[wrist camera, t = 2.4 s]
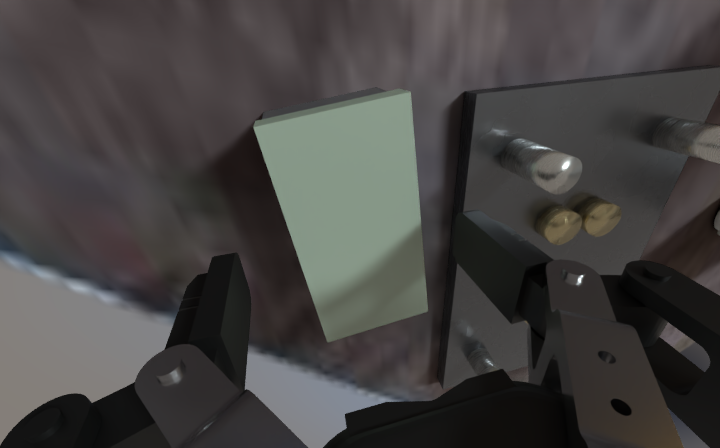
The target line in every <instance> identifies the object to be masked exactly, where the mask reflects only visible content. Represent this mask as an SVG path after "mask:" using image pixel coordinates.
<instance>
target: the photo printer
mask: <svg viewBox="0 0 720 448" xmlns="http://www.w3.org/2000/svg"><path fill="white" fill-rule="evenodd" d="M714 227H715V229H717V230H718V232H717V234H718V235H719V236H720V210H719V211H718V213H717V215H716V218H715V221H714Z"/></svg>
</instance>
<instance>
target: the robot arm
mask: <svg viewBox="0 0 720 448" xmlns="http://www.w3.org/2000/svg"><path fill="white" fill-rule="evenodd" d="M452 250H453V255H454V258H455V260H456V262H457V263H458V264H459V266H460V267H461V268H462V269H463V270H464V271H465V272H466V274H467V275H468V276H469V277H470V278H471V279H472V280H473V281H474V283H475V284H476V285H477V286H478V287H479V288H480V289H481V291H482V292H483V293H484V294H485V295H486V296H487V297H488V298H489V300H490V301H491V302H492V303H493V304H494V305H495V306H496V308H497V309H498V310H499V311H500V312H501V313H502V314H503V316H504V317H505V318H506V319H507V320H508V321H509V322H510V323H511V324H514V323H518V322H522V321H527V322H528V324H529V326H528V329H527V347H528V373H529V381H528V383H527V382H519V381H512V380H511V379H510V378H509V376H508V375H507V374H506V372H505V371H504V369H499V370H496V371H492V372H489V373H485V374H482V375H478V376H475V377H471V378H468V379H466V380H464V381H463V382H461V383H460V384H458V385H457V386H455V387H454V388H452V389H451V390H449V391H448V392H446V393H444V394H443V395H441V396H440V397H438V398H437V399H435V400H432V401H415V402H385V403H381V404H378V405H375V406H371V407H368V408H365V409H361V410H357V411H354V412H350V413H347V414H345V419H346V425H347V428H346V429H345V430H343V431H342V432H340V433H339V434H337V435H336V436H335V437H334V438H333V439H331V440H330V441H329V442H328V443H327V444H326V445H325V446H324V447H323V448H684V447H683V444H682V442H681V439H680V437H679V434H678V432H677V430H676V427H675V424H674V422H673V420H672V417H671V415H670V413H669V410H668V408H669V409H670V410H671V411H672V412H673V413H674V414H675V415H676V416H677V417H678V418H679V419H680V420H682V421H683V422H684V423H685V424H686V425H687V426H688V427H689V428H690V429H691V430H692V431H693V432H694V433H695V434H696V435H697V436H698V437H699V438H700V439H701V440H702V441H703V442H705V443H706V444H707V445H708V446H709V447H710V448H720V296H719V295H718V294H716V293H714V292H712V291H711V290H709V289H707V288H705V287H704V286H702V285H700V284H698V283H697V282H695V281H693V280H691V279H690V278H688V277H686V276H685V275H683V274H681V273H679V272H678V271H676V270H674V269H672V268H670V267H667V266H665V265H662V264H659V263H655V262H650V261H642V260H637V261H631V262H629V263H627V264H626V266H625V268H624V270H623V273H622V275H599V274H598V273H597V272H596V271H595V270H593V269H592V268H590V267H589V266H587V265H584V264H582V263H579V262H576V261H571V260H562V259H560V260H553V259H552V258H551V257H549V256H548V255H547V254H545V253H544V252H543V251H541V250H540V249H539V248H537V247H536V246H534V245H533V244H532V243H530V242H529V241H528V240H525V238H524V237H522V236H521V235H519V234H517V232H515V231H514V230H513V229H511V228H510V227H509V226H507V225H505V224H503V223H500V222H498V221H495V220H492V219H491V218H489V217H488V216H487V215H485V214H484V213H483V212H481V211H480V210H472V211H466V212H461V213H458V214H457V216H456V219H455V228H454V237H453V247H452ZM250 314H251V296H250V290H249V287H248V283H247V280H246V277H245V274H244V270H243V267H242V264H241V261H240V258H239V255H238V254H237V253H231V254H225V255H220V256H214V257H212V260H211V263H210V267H209V270H208V273H205V274H200V275H197V276H196V277H195V279H194V280H193V281H192V282H191V283H190V284H189V285H188V286H187V288H186V291H185V294H184V297H183V301H182V302H181V305H180V308H179V312H178V314H177V316H176V319H175V322H174V325H173V328H172V330H171V333H170V336H169V339H168V341H167V344H166V347H165V350H163V351H162V352H160V353H158V354H157V355H155V356H154V357H153V358H151V359H150V360H149V361H148V362H147V363H146V364H145V365H144V366H143V368H142V369H141V370H140V372H139V373H138V375H137V378H136V380H135V382H134V383H133V384H130V385H129V386H127V387H125V388H123V389H121V390H119V391H116V392H114V393H112V394H110V395H108V396H106V397H104V398H102V399H100V400H98V401H96V402H93V403H91V402H90V400H89V399H88V398H87V397H86V396H84V395H82V394H68V395H64V396H60V397H58V398H55V399H53V400H51V401H49V402H47V403H45V404H43V405H41V406H40V407H38V408H37V409H35V410H34V411H32V412H31V413H30V414H28V415H27V416H26V417H24V419H22V420H21V421H20V422H19V423H18V424H17V425H16V426H15V427H14V428H13V429H12V431H10V432H9V433H8V435H7V436H6V438H5V439H4V440H3V442H2V444H1V445H0V448H308V447H307V446H306V445H305V444H304V443H303V442H302V441H301V440H300V439H299V438H298V437H297V436H296V435H295V434H294V433H293V432H292V431H291V430H290V429H288V427H287V426H286V425H285V424H284V423H283V422H282V421H281V420H280V419H279V418H278V417H277V416H276V415H275V414H274V413H273V412H272V411H270V409H268V407H266V406H265V405H264V404H263V403H262V402H261V401H260V400H259V399H258V398H257V397H256V396H255V395H254V394H253V393H252V392H250V391H249V390H245V378H246V377H245V376H246V365H247V352H248V340H249V327H250ZM668 322H669V323H670V324H672V325H673V326H674V327H676V328H677V329H678V330H680V331H681V332H683V333H684V334H685V335H687V336H688V337H689V338H691V339H692V340H694V341H695V342H696V343H698V344H699V345H700V346H702V347H703V348H704V349H705V351H706V352H707V353H708V355H709V358H710V361H711V362H710V366H709V368H708V369H707V370H706V372H703V371H702V370H701V369H699V368H698V367H697V366H696V365H695V364H693V363H692V362H691V361H689V360H688V359H687V358H686V357H684V356H683V355H682V354H681V353H679V352H678V351H677V350H675V349H674V348H673V347H672V346H670V345H669V344H668V343H667V342H665V341H664V340H663V339H661V338H660V337H659V336H660V335H661V333H662V331H663V330H664V328H665V326H666V325H667V323H668ZM244 390H245V391H244Z"/></svg>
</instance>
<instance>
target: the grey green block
mask: <svg viewBox="0 0 720 448" xmlns="http://www.w3.org/2000/svg"><path fill="white" fill-rule="evenodd" d="M253 128H254V131H255V134H256V136H257V139H258V142H259V145H260V148H261V151H262V154H263V157H264V160H265V163H266V166H267V168H268V171H269V174H270V177H271V180H272V183H273V186H274V189H275V192H276V195H277V197H278V200H279V203H280V206H281V209H282V212H283V215H284V218H285V221H286V224H287V227H288V229H289V232H290V235H291V238H292V241H293V244H294V247H295V250H296V253H297V256H298V258H299V261H300V264H301V267H302V270H303V273H304V276H305V279H306V282H307V285H308V288H309V290H310V293H311V296H312V299H313V302H314V305H315V308H316V311H317V314H318V317H319V319H320V322H321V325H322V328H323V331H324V334H325V337H326V340H327V343H328V342H332V341H335V340H338V339H341V338H344V337H348V336H351V335H354V334H357V333H361V332H364V331H367V330H370V329H373V328H377V327H380V326H383V325H386V324H389V323H393V322H396V321H399V320H402V319H405V318H409V317H412V316H415V315H418V314H422V313H425V312H428V303H427V291H426V278H425V266H424V253H423V241H422V228H421V216H420V203H419V191H418V178H417V166H416V153H415V141H414V128H413V116H412V103H411V92H410V91H406V90H403V89H396V90H391V91H385V90H382V89H380V88H377V87H375V88H371V89H366V90H362V91H357V92H353V93H348V94H344V95H339V96H334V97H330V98H325V99H321V100H316V101H312V102H307V103H303V104H298V105H294V106H289V107H285V108H280V109H276V110H271V111H267V112H263V117H262V120H257V121H255V124H254V127H253Z"/></svg>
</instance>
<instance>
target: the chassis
mask: <svg viewBox="0 0 720 448" xmlns="http://www.w3.org/2000/svg"><path fill="white" fill-rule="evenodd" d="M719 91H720V66H713V65H706V66H697V67H688V68H678V69H669V70H660V71H650V72H641V73H632V74H622V75H613V76H603V77H594V78H585V79H575V80H566V81H557V82H547V83H538V84H529V85H519V86H510V87H500V88H491V89H482V90H472V91H465V95H464V105H463V115H462V126H461V136H460V146H459V157H458V167H457V177H456V188H455V198H454V209H453V219H452V229H451V240H450V250H449V260H448V271H447V281H446V291H445V302H444V312H443V323H442V333H441V343H440V354H439V364H438V374H437V378H438V380H439V382H440V384H441V386H442V388H443V389H446V388H450V387H453V386H457V385H458V384H460V383H461V382H463V381H464V380H466V379H468V378H471V377H475V376H478V375H482V374H485V373H489V372H492V371H496V370H499V369H504V371H505V372H507V371H511V370H515V369H518V368H522V367H525V366H528V347H527V329H528V326H529V324H528V322H527V321H522V322H518V323H514V324H511V323H510V322H509V321H508V320H507V319H506V318H505V317H504V316H503V314H502V313H501V312H500V311H499V310H498V309H497V308H496V306H495V305H494V304H493V303H492V302H491V301H490V300H489V298H488V297H487V296H486V295H485V294H484V293H483V292H482V291H481V289H480V288H479V287H478V286H477V285H476V284H475V283H474V281H473V280H472V279H471V278H470V277H469V276H468V275H467V274H466V272H465V271H464V270H463V269H462V268H461V267H460V266H459V264H458V263H457V262H456V260H455V258H454V255H453V250H452V247H453V237H454V228H455V219H456V216H457V214H458V213H461V212H466V211H472V210H480V211H481V212H483V213H484V214H485V215H487V216H488V217H489V218H491V219H492V220H495V221H498V222H500V223H503V224H505V225H507V226H509V227H510V228H511V229H513V230H514V231H515V232H517V234H519V235H521V236H522V237H524V238H525V240H528V241H529V242H530V243H532V244H533V245H534V246H536V247H537V248H539V249H540V250H541V251H543V252H544V253H545V254H547V255H548V256H549V257H551V258H552V259H553V260H560V259H562V260H571V261H576V262H579V263H582V264H584V265H587V266H589V267H590V268H592V269H593V270H595V271H596V272H597V273H598V274H599V275H622V273H623V270H624V268H625V266H626V264H627V263H629V262H631V261H637V260H639V259H640V257H641V255H642V253H643V251H644V249H645V247H646V245H647V242H648V240H649V238H650V236H651V234H652V232H653V230H654V228H655V226H656V224H657V221H658V219H659V217H660V215H661V213H662V211H663V209H664V207H665V205H666V203H667V200H668V198H669V196H670V194H671V192H672V190H673V188H674V186H675V184H676V182H677V179H678V177H679V175H680V173H681V171H682V169H683V167H684V165H685V163H686V161H687V158H688V156H691V157H695V158H699V159H703V160H707V161H711V162H715V163H719V164H720V125H717V124H711V123H705V121H706V119H707V117H708V114H709V112H710V110H711V108H712V106H713V104H714V102H715V100H716V98H717V96H718V93H719Z"/></svg>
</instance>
